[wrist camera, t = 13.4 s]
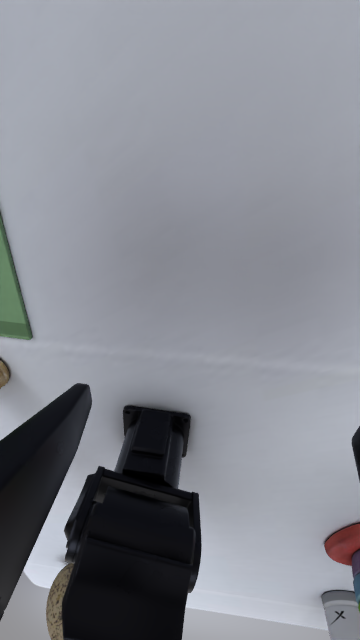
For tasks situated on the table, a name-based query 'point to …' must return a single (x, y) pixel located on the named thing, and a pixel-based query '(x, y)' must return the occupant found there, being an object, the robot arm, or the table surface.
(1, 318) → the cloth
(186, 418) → the robot arm
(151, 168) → the table surface
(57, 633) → the decorative egg
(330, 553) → the stacking bear
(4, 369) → the sprinkles bottle
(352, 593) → the travel mug
